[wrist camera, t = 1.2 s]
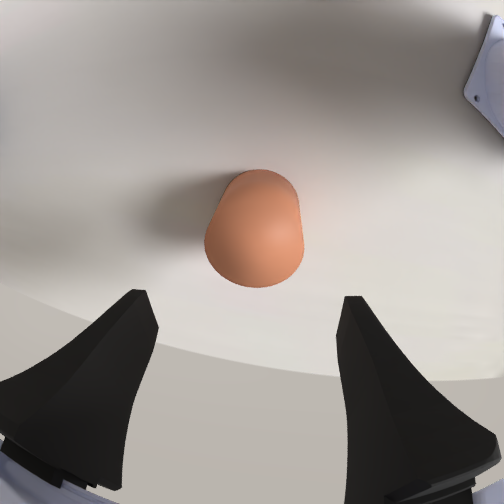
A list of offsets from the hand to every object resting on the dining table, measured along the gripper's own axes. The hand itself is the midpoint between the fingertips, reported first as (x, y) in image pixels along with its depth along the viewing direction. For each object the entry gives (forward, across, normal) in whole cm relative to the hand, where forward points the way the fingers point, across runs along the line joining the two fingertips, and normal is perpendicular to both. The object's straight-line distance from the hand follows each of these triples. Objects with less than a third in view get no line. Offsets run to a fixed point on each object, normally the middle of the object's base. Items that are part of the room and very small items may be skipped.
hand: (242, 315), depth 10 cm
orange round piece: (+9, 0, 0) cm, 9 cm away
